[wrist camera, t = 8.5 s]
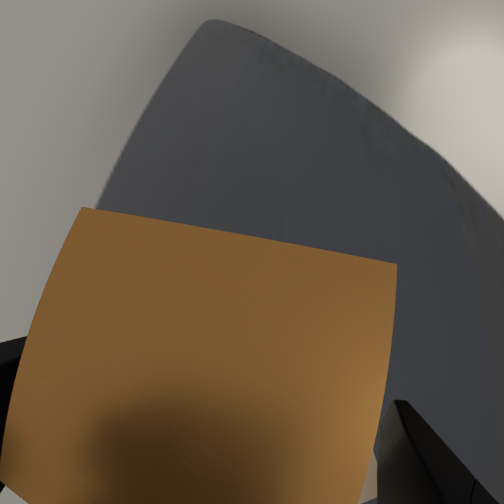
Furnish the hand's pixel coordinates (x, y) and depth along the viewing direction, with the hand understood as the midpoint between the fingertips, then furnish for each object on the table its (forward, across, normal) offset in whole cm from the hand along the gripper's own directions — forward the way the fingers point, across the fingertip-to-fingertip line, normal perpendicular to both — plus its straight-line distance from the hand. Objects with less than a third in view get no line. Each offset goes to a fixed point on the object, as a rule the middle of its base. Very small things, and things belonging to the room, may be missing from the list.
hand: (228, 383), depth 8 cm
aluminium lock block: (+5, 0, +6) cm, 8 cm away
